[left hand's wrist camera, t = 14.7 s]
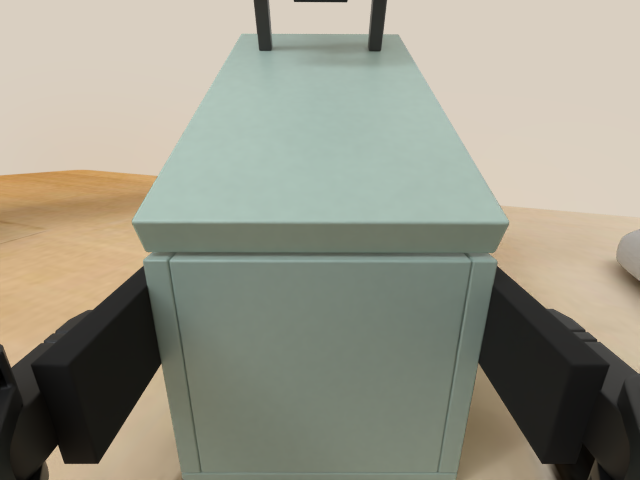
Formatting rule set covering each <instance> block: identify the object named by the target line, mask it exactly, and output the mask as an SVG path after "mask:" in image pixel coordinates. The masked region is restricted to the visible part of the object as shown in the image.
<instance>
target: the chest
mask: <svg viewBox="0 0 640 480" xmlns="http://www.w3.org/2000/svg"><path fill="white" fill-rule="evenodd" d="M143 265H144V270H145V275H146V281H147V286H148V292H149V297H150V303H151V308H152V314H153V319H154V325H155V330H156V336H157V341H158V347H159V352H160V358H161V363H162V369H163V374H164V380H165V385H166V391H167V396H168V402H169V407H170V412H171V418H172V423H173V429H174V434H175V440H176V445H177V451H178V456H179V462H180V467H181V472H182V478H183V480H456V478H457V472H458V467H459V462H460V456H461V451H462V446H463V441H464V435H465V430H466V425H467V420H468V415H469V409H470V404H471V399H472V394H473V388H474V383H475V378H476V373H477V367H478V362H479V357H480V352H481V346H482V341H483V336H484V330H485V325H486V320H487V314H488V309H489V304H490V298H491V293H492V288H493V284H494V279H495V273H496V268H497V260H496V259H495V258H493V257H492V256H491V255H490V254H489V253H343V252H152V253H151V254H150V255H149V256H147V257H146V258H145V259H144V260H143Z"/></svg>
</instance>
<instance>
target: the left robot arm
mask: <svg viewBox="0 0 640 480" xmlns="http://www.w3.org/2000/svg"><path fill="white" fill-rule="evenodd" d="M478 363H479V364H480V366H481V367H482V369H483V371H484V372H485V374H486V375H487V377H488V379H489V380H490V382H491V383H492V385H493V387H494V388H495V390H496V391H497V393H498V394H499V396H500V398H501V399H502V401H503V402H504V404H505V406H506V407H507V409H508V410H509V412H510V414H511V415H512V417H513V418H514V420H515V421H516V423H517V425H518V426H519V428H520V429H521V431H522V433H523V434H524V436H525V437H526V439H527V441H528V442H529V444H530V445H531V447H532V448H533V450H534V452H535V453H536V455H537V456H538V458H539V460H540V461H541V463H542V464H576V462H577V459H578V456H579V453H580V450H581V448H582V445H583V444H584V445H585V446H586V448H587V449H588V450H589V452H590V453H591V454H592V455H593V457H594V458H595V461H594V464H593V467H592V470H591V472H590V475H589V478H588V480H640V374H638V373H637V372H636V371H635V370H633V369H632V368H631V367H630V366H628V365H627V364H626V363H625V362H624V361H622V360H621V359H620V358H619V357H618V356H616V355H615V354H614V353H613V352H611V351H610V350H609V349H608V348H607V347H605V346H604V345H603V344H602V343H601V342H597V339H596V338H594V337H593V336H592V335H591V334H590V333H588V332H585V329H584V328H582V327H581V326H580V325H579V324H577V323H576V322H575V321H574V320H573V319H571V318H569V317H567V316H566V315H564V314H562V313H560V312H558V311H556V310H554V309H546V308H545V307H543V306H542V305H541V304H540V303H539V302H538V301H537V300H535V299H534V298H533V297H532V296H531V295H530V294H529V293H527V292H526V291H525V290H524V289H523V288H522V287H521V286H519V285H518V284H517V283H516V282H515V281H514V280H513V279H511V278H510V277H509V276H508V275H507V274H506V273H504V272H503V271H502V270H501V269H500V268H499V267H498V266H497V268H496V273H495V279H494V284H493V288H492V293H491V298H490V304H489V309H488V314H487V320H486V325H485V330H484V336H483V341H482V346H481V352H480V357H479V362H478ZM160 365H161V358H160V352H159V347H158V341H157V336H156V330H155V325H154V319H153V314H152V308H151V303H150V297H149V292H148V286H147V281H146V275H145V270H144V266H143V267H142V268H140V269H139V270H138V271H137V272H136V273H135V274H134V275H132V276H131V277H130V278H129V279H128V280H127V281H126V282H124V283H123V284H122V285H121V286H120V287H119V288H118V289H116V290H115V291H114V292H113V293H112V294H111V295H110V296H108V297H107V298H106V299H105V300H104V301H103V302H102V303H100V304H99V305H98V306H97V307H96V308H95V309H94V310H87V311H85V312H83V313H81V314H79V315H78V316H76V317H74V318H72V319H70V320H68V321H67V322H66V323H65V324H64V325H62V326H61V327H60V328H59V329H58V330H56V332H55V334H52V335H50V336H49V337H48V338H47V339H46V340H44V343H41V344H40V345H38V346H37V347H36V348H35V349H33V350H32V351H31V352H30V353H29V354H27V355H26V356H25V357H24V358H23V359H21V360H20V361H19V362H18V363H17V364H15V365H14V366H13V367H12V368H11V366H10V364H9V361H8V358H7V356H6V353H5V350H4V348H3V345H1V344H0V480H48V479H49V472H48V467H47V464H46V461H45V460H46V459H47V458H48V457H49V455H50V454H51V453H52V451H53V450H54V449H55V448H56V446H57V445H58V446H59V449H60V452H61V455H62V458H63V461H64V464H98V463H99V462H100V460H101V459H102V457H103V455H104V454H105V452H106V451H107V449H108V447H109V446H110V444H111V443H112V441H113V440H114V438H115V436H116V435H117V433H118V432H119V430H120V428H121V427H122V425H123V424H124V422H125V420H126V419H127V417H128V416H129V414H130V413H131V411H132V409H133V408H134V406H135V405H136V403H137V401H138V400H139V398H140V397H141V395H142V393H143V392H144V390H145V389H146V387H147V385H148V384H149V382H150V381H151V379H152V378H153V376H154V374H155V373H156V371H157V370H158V368H159V366H160Z"/></svg>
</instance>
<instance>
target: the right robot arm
mask: <svg viewBox="0 0 640 480" xmlns="http://www.w3.org/2000/svg"><path fill="white" fill-rule="evenodd" d="M294 2H347V0H294Z"/></svg>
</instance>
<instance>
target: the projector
mask: <svg viewBox="0 0 640 480" xmlns="http://www.w3.org/2000/svg"><path fill="white" fill-rule="evenodd" d="M616 258H617V261H618V262H619V264H620V265H621V266H622V267H623V268H624V269H625V270H627V271H628V272H629V273H630V274H631V275H633V276H634V277H635V278H636V279H638V280H639V281H640V229H638V230H636V231H633V232H631V233H629V234H627V235H625V236H624V237H623V238H622V239H621V240H620V243H619V245H618V249H617V254H616Z"/></svg>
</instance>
